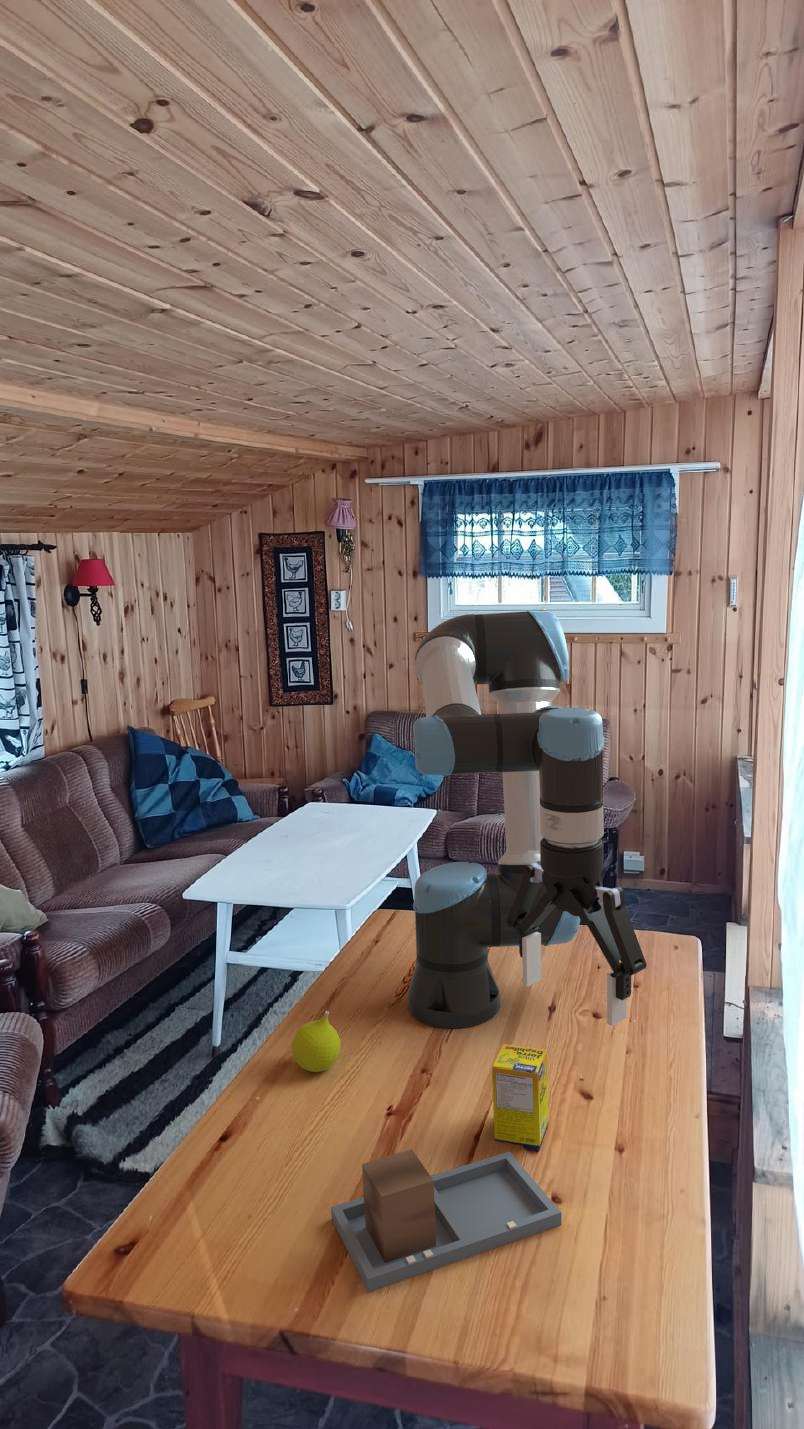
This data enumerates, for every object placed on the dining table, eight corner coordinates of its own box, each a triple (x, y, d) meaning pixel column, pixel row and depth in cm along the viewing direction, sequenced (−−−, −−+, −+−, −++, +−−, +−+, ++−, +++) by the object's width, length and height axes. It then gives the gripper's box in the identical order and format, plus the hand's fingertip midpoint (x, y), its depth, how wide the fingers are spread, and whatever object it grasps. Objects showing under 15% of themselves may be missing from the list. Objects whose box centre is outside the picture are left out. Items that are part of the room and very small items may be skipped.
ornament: (351, 1069, 144) (347, 1006, 142) (311, 1087, 139) (306, 1022, 137) (323, 1050, 149) (320, 989, 147) (284, 1067, 145) (279, 1005, 143)
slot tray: (332, 1223, 112) (330, 1205, 111) (509, 1166, 120) (509, 1149, 120) (369, 1296, 101) (368, 1277, 101) (561, 1228, 109) (561, 1210, 109)
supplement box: (548, 1124, 128) (547, 1048, 126) (539, 1152, 123) (538, 1073, 121) (504, 1117, 130) (502, 1042, 128) (493, 1144, 125) (491, 1066, 123)
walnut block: (365, 1227, 110) (362, 1163, 109) (414, 1211, 112) (411, 1148, 111) (385, 1263, 105) (381, 1196, 103) (436, 1245, 107) (433, 1180, 105)
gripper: (476, 823, 125) (480, 977, 129) (637, 872, 106) (636, 1050, 110) (517, 810, 129) (520, 959, 134) (678, 854, 110) (676, 1027, 115)
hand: (572, 1001), depth 122 cm, fingers open, 13 cm apart
